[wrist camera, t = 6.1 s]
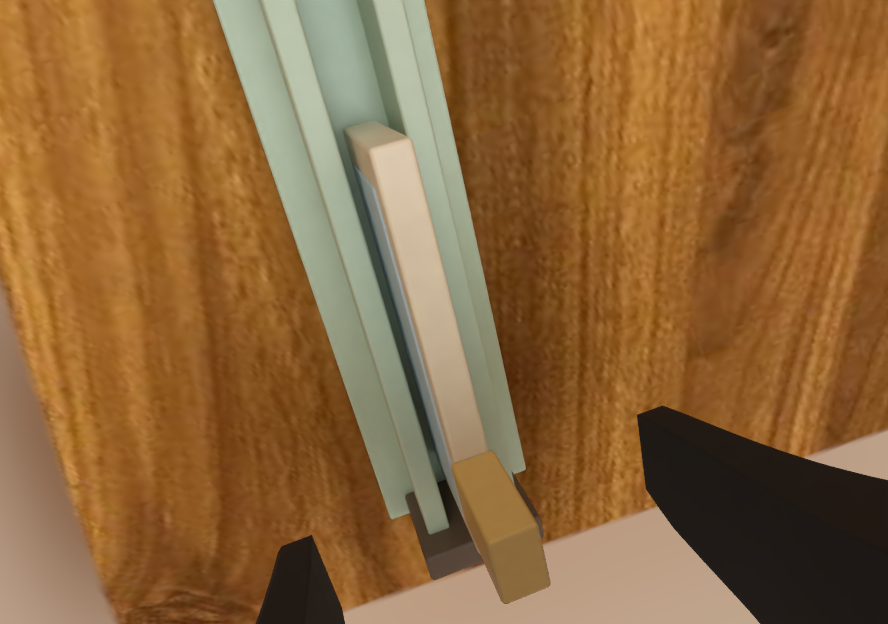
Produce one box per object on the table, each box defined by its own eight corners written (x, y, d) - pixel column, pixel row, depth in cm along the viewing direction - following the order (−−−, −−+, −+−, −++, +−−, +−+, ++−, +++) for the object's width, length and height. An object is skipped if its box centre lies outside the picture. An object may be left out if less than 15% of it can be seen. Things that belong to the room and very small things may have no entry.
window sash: (466, 449, 18) (562, 630, 12) (433, 461, 18) (515, 650, 12) (379, 117, 14) (458, 152, 9) (337, 129, 14) (388, 172, 8)
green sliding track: (513, 449, 21) (565, 530, 17) (384, 496, 20) (410, 591, 16) (315, -431, 12) (338, -644, 8) (78, -398, 11) (-9, -615, 8)
